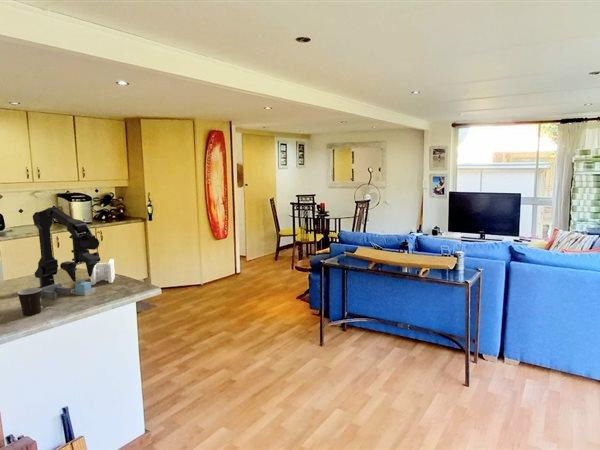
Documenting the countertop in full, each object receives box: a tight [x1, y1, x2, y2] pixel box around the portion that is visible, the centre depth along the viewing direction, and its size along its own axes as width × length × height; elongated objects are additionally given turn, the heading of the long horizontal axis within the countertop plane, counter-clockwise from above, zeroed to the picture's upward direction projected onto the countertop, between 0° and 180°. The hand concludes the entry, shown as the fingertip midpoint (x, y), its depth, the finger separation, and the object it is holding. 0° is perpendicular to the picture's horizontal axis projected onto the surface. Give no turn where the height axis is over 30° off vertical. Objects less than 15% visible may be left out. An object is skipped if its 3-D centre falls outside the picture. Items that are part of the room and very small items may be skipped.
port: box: [40, 282, 72, 301], centre depth 202 cm, size 11×12×6 cm
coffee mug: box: [17, 287, 42, 317], centre depth 180 cm, size 12×9×10 cm
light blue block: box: [74, 279, 92, 295], centre depth 206 cm, size 6×4×6 cm, turn 70°
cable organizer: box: [89, 258, 116, 286], centre depth 225 cm, size 15×11×12 cm
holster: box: [71, 287, 96, 296], centre depth 206 cm, size 9×6×3 cm
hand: (82, 279), depth 205 cm, fingers open, 9 cm apart
